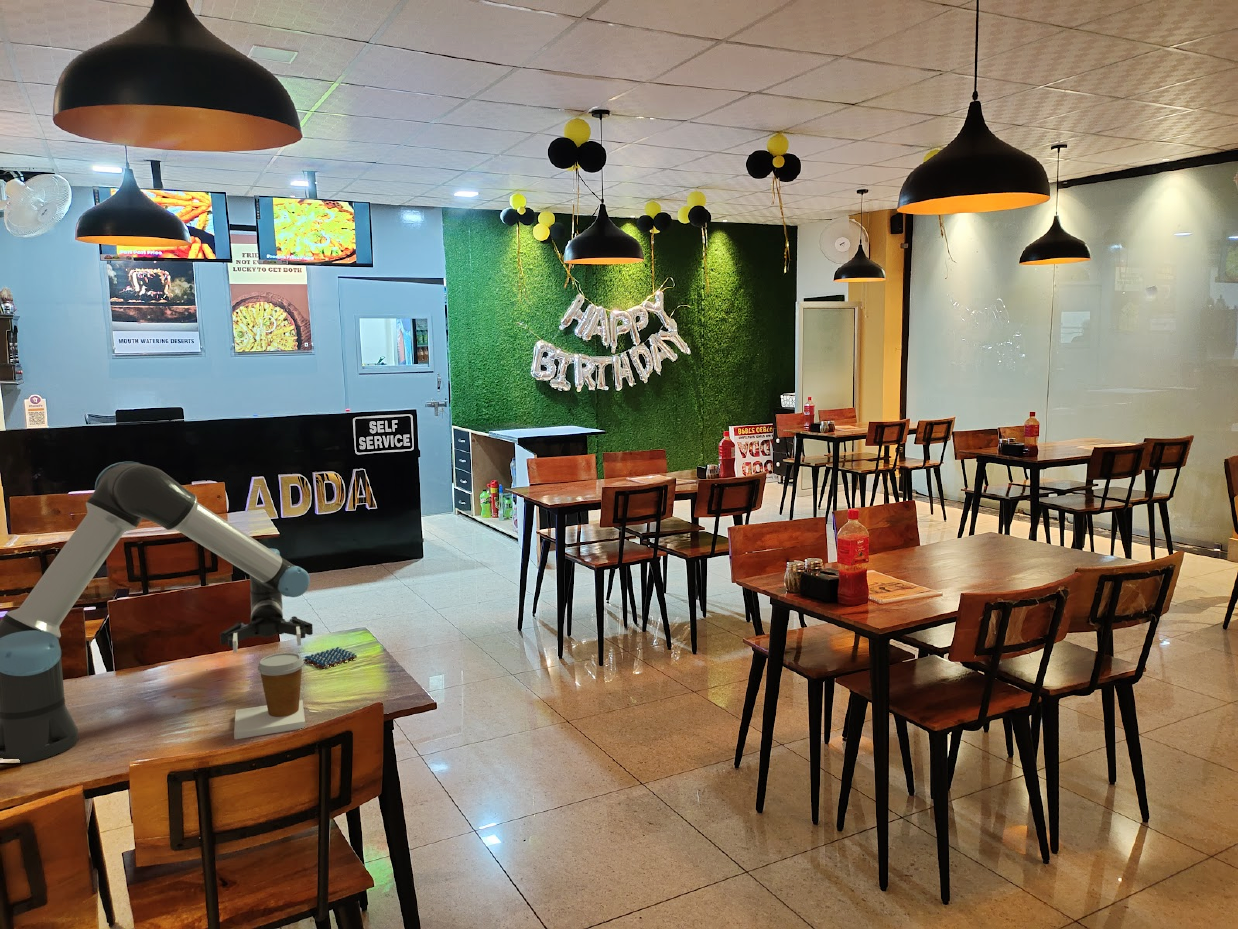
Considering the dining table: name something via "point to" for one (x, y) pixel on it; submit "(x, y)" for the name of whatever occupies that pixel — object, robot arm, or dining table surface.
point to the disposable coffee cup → (281, 682)
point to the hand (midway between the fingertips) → (267, 643)
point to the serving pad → (265, 722)
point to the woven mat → (329, 657)
